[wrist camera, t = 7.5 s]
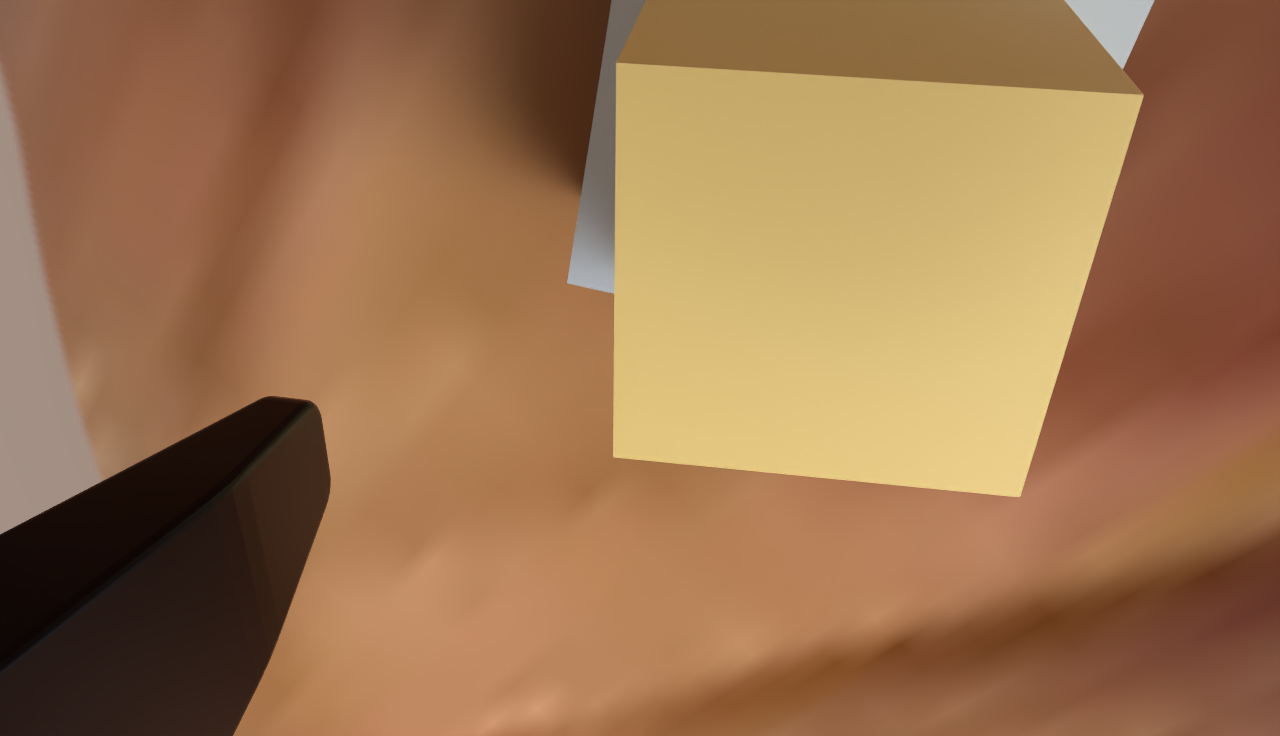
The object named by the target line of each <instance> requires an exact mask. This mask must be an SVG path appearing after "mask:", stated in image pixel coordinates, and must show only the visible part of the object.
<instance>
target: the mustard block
mask: <svg viewBox="0 0 1280 736" xmlns="http://www.w3.org/2000/svg"><path fill="white" fill-rule="evenodd" d="M1143 96H1144V95H1143V93H1142V92H1141V91H1140V90H1139V89H1138V87H1137V86H1136V85H1135V84H1134V83H1133V82H1132V80H1131V79H1130V78H1129V77H1128V76H1127V74H1126V73H1125V72H1124V71H1123V70H1122V68H1121V67H1120V66H1119V65H1118V64H1117V62H1116V61H1115V60H1114V59H1113V58H1112V56H1111V55H1110V54H1109V53H1108V52H1107V51H1106V49H1105V48H1104V47H1103V46H1102V45H1101V43H1100V42H1099V41H1098V40H1097V39H1096V37H1095V36H1094V35H1093V34H1092V33H1091V31H1090V30H1089V29H1088V28H1087V27H1086V25H1085V24H1084V23H1083V22H1082V21H1081V19H1080V18H1079V17H1078V16H1077V15H1076V14H1075V12H1074V11H1073V10H1072V9H1071V8H1070V6H1069V5H1068V4H1067V3H1066V2H1065V0H646V1H645V4H644V6H643V8H642V10H641V12H640V14H639V16H638V18H637V20H636V22H635V24H634V27H633V29H632V31H631V33H630V35H629V37H628V39H627V41H626V43H625V45H624V47H623V49H622V52H621V54H620V56H619V58H618V60H617V62H616V154H615V290H614V426H613V457H617V458H627V459H637V460H647V461H657V462H667V463H678V464H688V465H698V466H708V467H718V468H728V469H738V470H749V471H759V472H769V473H779V474H789V475H799V476H809V477H819V478H830V479H840V480H850V481H860V482H870V483H880V484H890V485H901V486H911V487H921V488H931V489H941V490H951V491H961V492H972V493H982V494H992V495H1002V496H1012V497H1020V495H1021V492H1022V489H1023V486H1024V483H1025V479H1026V476H1027V473H1028V470H1029V466H1030V463H1031V460H1032V457H1033V453H1034V450H1035V447H1036V444H1037V440H1038V437H1039V434H1040V431H1041V427H1042V424H1043V421H1044V418H1045V414H1046V411H1047V408H1048V405H1049V401H1050V398H1051V395H1052V392H1053V388H1054V385H1055V382H1056V379H1057V375H1058V372H1059V369H1060V366H1061V362H1062V359H1063V356H1064V353H1065V349H1066V346H1067V343H1068V340H1069V336H1070V333H1071V330H1072V327H1073V323H1074V320H1075V317H1076V314H1077V310H1078V307H1079V304H1080V301H1081V298H1082V294H1083V291H1084V288H1085V285H1086V281H1087V278H1088V275H1089V272H1090V268H1091V265H1092V262H1093V259H1094V255H1095V252H1096V249H1097V246H1098V242H1099V239H1100V236H1101V233H1102V229H1103V226H1104V223H1105V220H1106V216H1107V213H1108V210H1109V207H1110V203H1111V200H1112V197H1113V194H1114V190H1115V187H1116V184H1117V181H1118V177H1119V174H1120V171H1121V168H1122V164H1123V161H1124V158H1125V155H1126V151H1127V148H1128V145H1129V142H1130V138H1131V135H1132V132H1133V129H1134V125H1135V122H1136V119H1137V116H1138V113H1139V109H1140V106H1141V103H1142V100H1143Z"/></svg>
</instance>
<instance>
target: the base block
mask: <svg viewBox="0 0 1280 736" xmlns="http://www.w3.org/2000/svg"><path fill="white" fill-rule="evenodd" d="M645 1H646V0H612V1H611V7H610V14H609V20H608V27H607V33H606V39H605V46H604V52H603V58H602V65H601V71H600V77H599V84H598V90H597V97H596V103H595V109H594V116H593V122H592V128H591V135H590V141H589V147H588V154H587V160H586V167H585V173H584V179H583V186H582V192H581V198H580V205H579V211H578V217H577V224H576V230H575V236H574V243H573V249H572V256H571V262H570V268H569V275H568V281H567V283H569V284H573V285H578V286H582V287H587V288H591V289H596V290H600V291H604V292H609V293H613V294H614V290H615V154H616V62H617V60H618V58H619V56H620V54H621V52H622V49H623V47H624V45H625V43H626V41H627V39H628V37H629V35H630V33H631V31H632V29H633V27H634V24H635V22H636V20H637V18H638V16H639V14H640V12H641V10H642V8H643V6H644V4H645ZM1065 2H1066V3H1067V4H1068V5H1069V6H1070V8H1071V9H1072V10H1073V11H1074V12H1075V14H1076V15H1077V16H1078V17H1079V18H1080V19H1081V21H1082V22H1083V23H1084V24H1085V25H1086V27H1087V28H1088V29H1089V30H1090V31H1091V33H1092V34H1093V35H1094V36H1095V37H1096V39H1097V40H1098V41H1099V42H1100V43H1101V45H1102V46H1103V47H1104V48H1105V49H1106V51H1107V52H1108V53H1109V54H1110V55H1111V56H1112V58H1113V59H1114V60H1115V61H1116V62H1117V64H1118V65H1119V66H1120V67H1121V68H1122V70H1123V68H1124V65H1125V63H1126V61H1127V59H1128V57H1129V55H1130V52H1131V50H1132V48H1133V46H1134V44H1135V41H1136V39H1137V37H1138V35H1139V33H1140V30H1141V28H1142V26H1143V24H1144V22H1145V20H1146V17H1147V15H1148V13H1149V11H1150V9H1151V6H1152V4H1153V2H1154V0H1065Z"/></svg>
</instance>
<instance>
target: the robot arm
mask: <svg viewBox="0 0 1280 736" xmlns="http://www.w3.org/2000/svg"><path fill="white" fill-rule="evenodd" d="M330 483H331V478H330V470H329V463H328V457H327V450H326V443H325V437H324V430H323V424H322V418H321V414H320V411H319V409H318V407H317V406H316V405H315V404H314V403H313V402H311V401H309V400H302V399H294V398H286V397H277V396H268V397H264V398H262V399H260V400H257V401H256V402H254V403H252V404H250V405H248V406H246V407H244V408H242V409H240V410H238V411H236V412H234V413H233V414H231V415H229V416H227V417H225V418H223V419H221V420H219V421H217V422H215V423H213V424H211V425H209V426H208V427H206V428H204V429H202V430H200V431H198V432H196V433H194V434H192V435H190V436H188V437H186V438H185V439H183V440H181V441H179V442H177V443H175V444H173V445H171V446H169V447H167V448H165V449H163V450H161V451H160V452H158V453H156V454H154V455H152V456H150V457H148V458H146V459H144V460H142V461H140V462H138V463H137V464H135V465H133V466H131V467H129V468H127V469H125V470H123V471H121V472H119V473H117V474H115V475H113V476H112V477H110V478H108V479H106V480H104V481H102V482H100V483H98V484H96V485H94V486H92V487H90V488H89V489H87V490H85V491H83V492H81V493H79V494H77V495H75V496H73V497H71V498H69V499H67V500H65V501H64V502H62V503H60V504H58V505H56V506H54V507H52V508H50V509H48V510H46V511H44V512H43V513H41V514H39V515H37V516H35V517H33V518H31V519H29V520H27V521H25V522H23V523H21V524H20V525H18V526H16V527H14V528H12V529H10V530H8V531H6V532H4V533H2V534H0V736H233V735H234V733H235V731H236V729H237V727H238V725H239V723H240V721H241V719H242V717H243V715H244V713H245V710H246V708H247V706H248V704H249V702H250V700H251V698H252V696H253V694H254V692H255V690H256V688H257V686H258V684H259V682H260V680H261V678H262V676H263V674H264V671H265V669H266V667H267V665H268V663H269V661H270V659H271V656H272V653H273V651H274V648H275V646H276V643H277V641H278V638H279V636H280V633H281V630H282V628H283V625H284V622H285V619H286V616H287V614H288V611H289V608H290V605H291V603H292V600H293V597H294V594H295V592H296V589H297V586H298V583H299V581H300V578H301V575H302V572H303V569H304V567H305V564H306V561H307V558H308V556H309V553H310V550H311V547H312V545H313V542H314V539H315V536H316V533H317V531H318V528H319V525H320V522H321V520H322V517H323V514H324V511H325V509H326V506H327V502H328V498H329V494H330Z"/></svg>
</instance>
